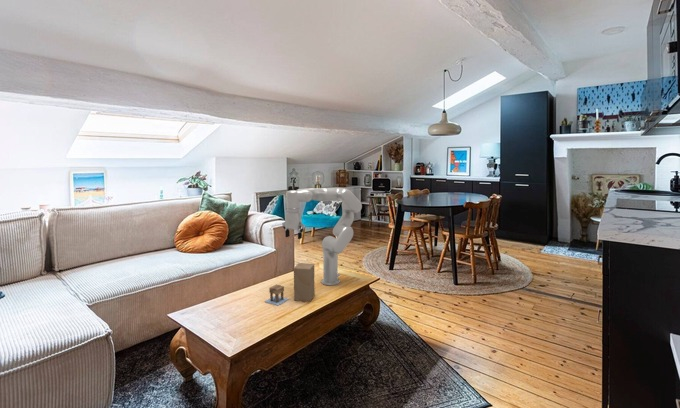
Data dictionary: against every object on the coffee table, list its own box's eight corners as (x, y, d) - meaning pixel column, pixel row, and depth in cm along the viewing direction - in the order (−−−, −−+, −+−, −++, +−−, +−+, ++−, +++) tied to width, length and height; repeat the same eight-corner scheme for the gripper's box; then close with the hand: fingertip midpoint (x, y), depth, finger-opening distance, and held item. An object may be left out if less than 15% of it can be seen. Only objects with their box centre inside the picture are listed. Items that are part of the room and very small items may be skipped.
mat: (275, 296, 211) (275, 295, 210) (288, 299, 206) (288, 298, 205) (264, 302, 202) (264, 301, 202) (277, 305, 197) (277, 304, 197)
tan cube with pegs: (269, 300, 203) (269, 287, 202) (276, 297, 208) (276, 284, 207) (277, 302, 200) (277, 289, 199) (284, 299, 205) (284, 286, 204)
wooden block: (310, 301, 203) (309, 269, 200) (293, 300, 205) (293, 267, 202) (314, 295, 212) (314, 263, 210) (299, 293, 214) (298, 262, 212)
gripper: (278, 210, 214) (278, 237, 216) (301, 212, 205) (301, 240, 207) (286, 208, 220) (286, 234, 222) (308, 210, 211) (308, 238, 214)
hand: (293, 237), depth 215 cm, fingers open, 9 cm apart
